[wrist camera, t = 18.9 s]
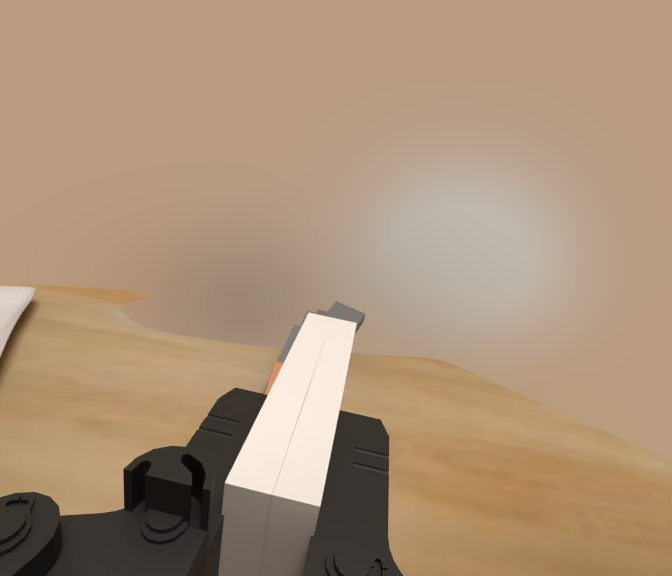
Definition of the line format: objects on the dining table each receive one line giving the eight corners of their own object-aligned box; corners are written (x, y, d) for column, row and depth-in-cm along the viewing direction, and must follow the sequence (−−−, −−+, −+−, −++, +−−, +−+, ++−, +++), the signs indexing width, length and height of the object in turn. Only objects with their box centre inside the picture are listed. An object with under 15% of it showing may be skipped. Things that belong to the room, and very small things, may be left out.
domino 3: (330, 368, 54) (363, 322, 62) (332, 359, 53) (365, 314, 61) (298, 353, 55) (334, 309, 63) (299, 344, 54) (336, 301, 62)
